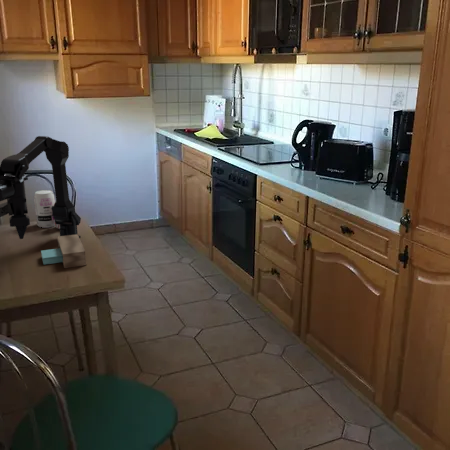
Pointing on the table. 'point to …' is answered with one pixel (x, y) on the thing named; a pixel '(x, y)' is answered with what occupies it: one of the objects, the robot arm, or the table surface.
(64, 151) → the robot arm
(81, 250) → the block
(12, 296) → the table surface
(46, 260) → the teal rectangular block
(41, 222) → the supplement can
